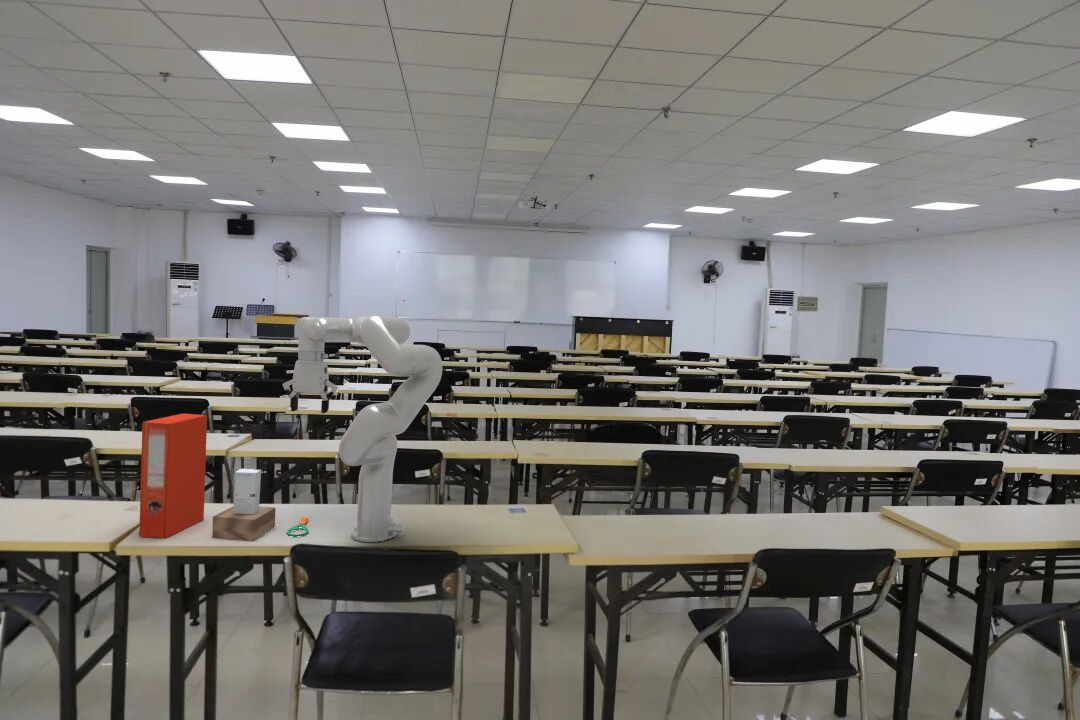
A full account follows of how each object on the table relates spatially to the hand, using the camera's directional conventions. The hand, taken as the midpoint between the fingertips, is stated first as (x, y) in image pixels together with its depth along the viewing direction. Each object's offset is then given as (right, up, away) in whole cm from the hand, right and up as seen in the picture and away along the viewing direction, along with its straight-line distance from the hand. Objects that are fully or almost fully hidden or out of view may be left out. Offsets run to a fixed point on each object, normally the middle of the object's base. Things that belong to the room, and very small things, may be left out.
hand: (309, 411), depth 199 cm
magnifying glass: (+1, -35, -9) cm, 36 cm away
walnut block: (-13, -34, -15) cm, 39 cm away
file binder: (-34, -33, -15) cm, 49 cm away
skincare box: (-12, -28, -16) cm, 34 cm away
